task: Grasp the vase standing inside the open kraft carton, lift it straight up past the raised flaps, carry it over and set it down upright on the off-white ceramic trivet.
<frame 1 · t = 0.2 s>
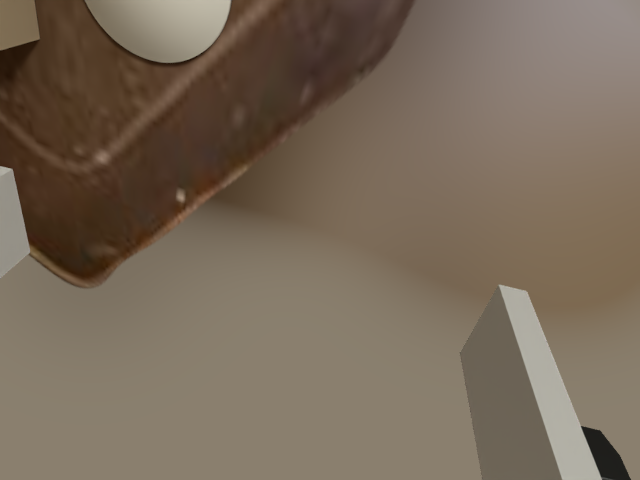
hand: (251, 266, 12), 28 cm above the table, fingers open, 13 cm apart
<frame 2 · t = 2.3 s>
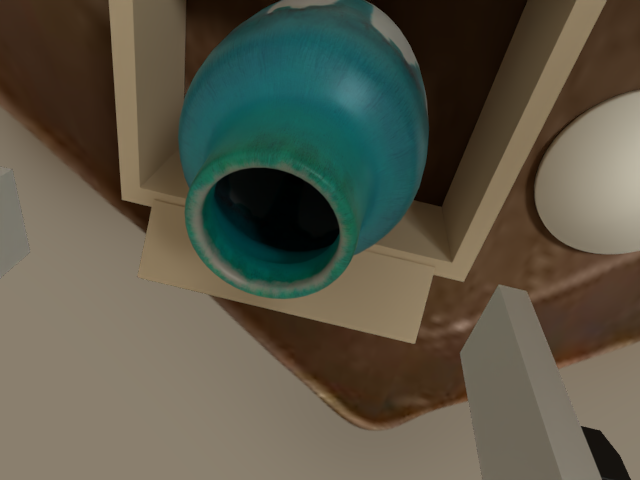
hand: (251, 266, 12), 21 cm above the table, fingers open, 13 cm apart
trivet: (628, 177, 30), on the table
vase: (334, 73, 29), resting in carton
carton: (334, 74, 29), on the table
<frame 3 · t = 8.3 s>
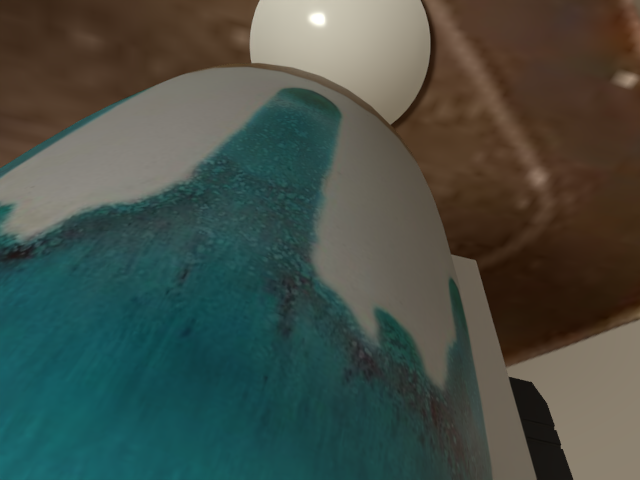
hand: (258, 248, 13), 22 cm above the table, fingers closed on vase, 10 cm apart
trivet: (338, 53, 30), on the table
vase: (287, 180, 17), point 17 cm above the table, touching gripper
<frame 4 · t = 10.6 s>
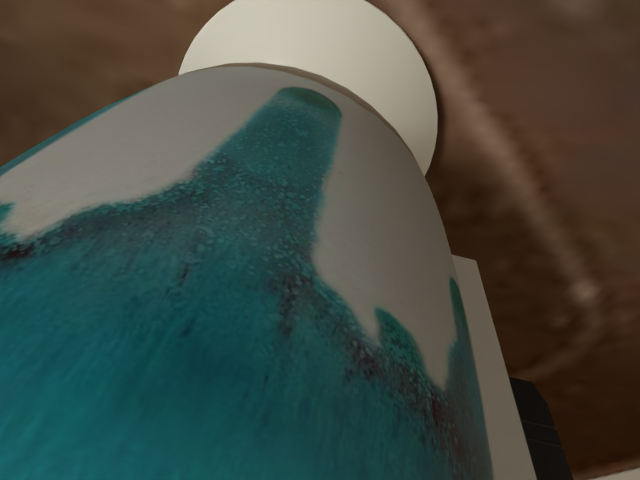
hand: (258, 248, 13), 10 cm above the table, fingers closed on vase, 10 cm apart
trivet: (304, 129, 21), on the table
vase: (287, 180, 17), point 5 cm above the table, touching gripper
when the fingers open (6 cm above the table, at t = 12.4 s): vase moves 1 cm, resting on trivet.
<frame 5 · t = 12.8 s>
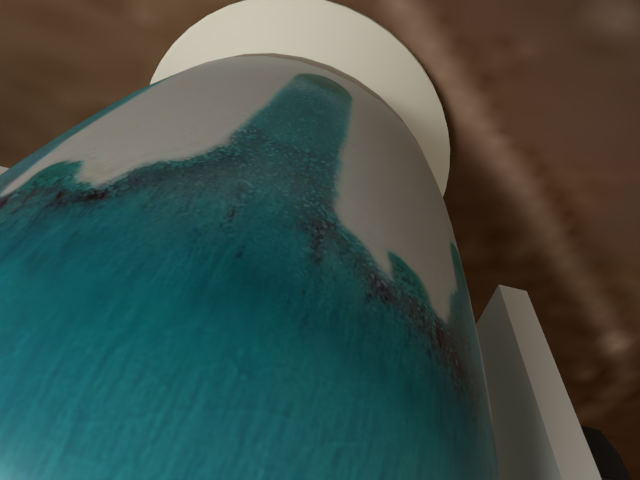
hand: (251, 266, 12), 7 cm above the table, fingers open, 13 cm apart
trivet: (294, 163, 18), on the table
vase: (295, 168, 18), resting on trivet
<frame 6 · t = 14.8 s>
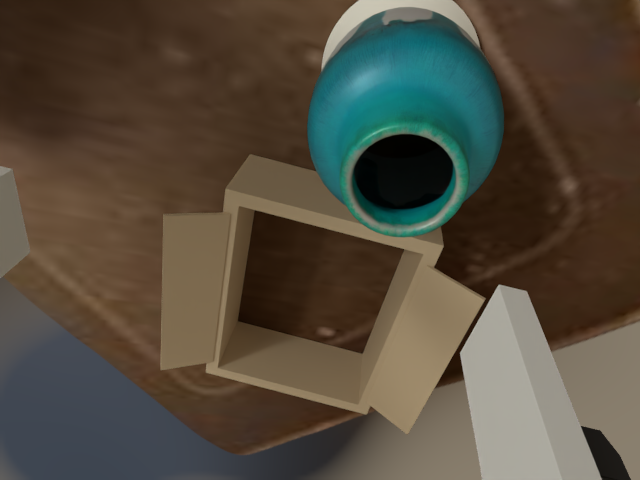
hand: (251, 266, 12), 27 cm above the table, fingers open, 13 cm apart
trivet: (399, 73, 35), on the table
vase: (400, 74, 35), resting on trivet
carton: (317, 272, 47), on the table
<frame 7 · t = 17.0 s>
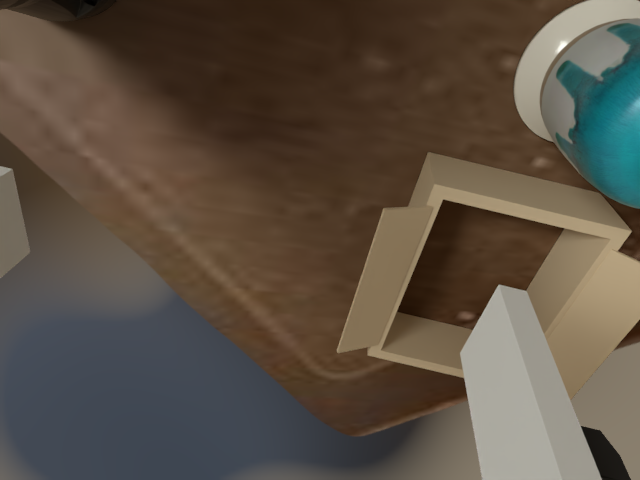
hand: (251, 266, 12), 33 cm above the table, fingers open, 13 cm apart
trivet: (587, 75, 38), on the table
vase: (591, 77, 38), resting on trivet
carton: (470, 260, 50), on the table
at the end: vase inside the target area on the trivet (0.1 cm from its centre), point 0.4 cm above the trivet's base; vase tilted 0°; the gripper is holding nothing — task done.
